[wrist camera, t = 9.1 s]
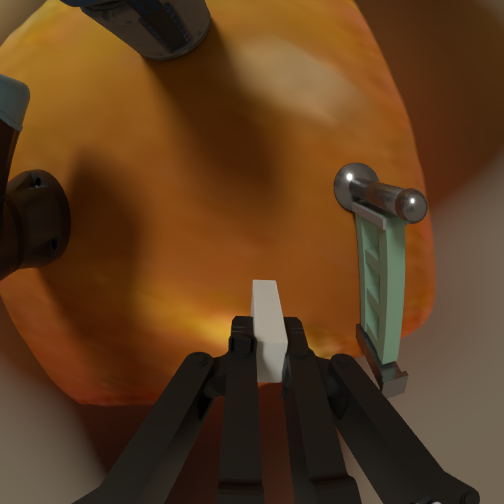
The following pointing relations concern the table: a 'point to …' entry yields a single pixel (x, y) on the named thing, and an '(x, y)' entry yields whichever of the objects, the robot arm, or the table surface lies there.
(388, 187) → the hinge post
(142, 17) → the beverage bottle
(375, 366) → the post
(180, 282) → the table surface
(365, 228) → the gate
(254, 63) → the table surface
